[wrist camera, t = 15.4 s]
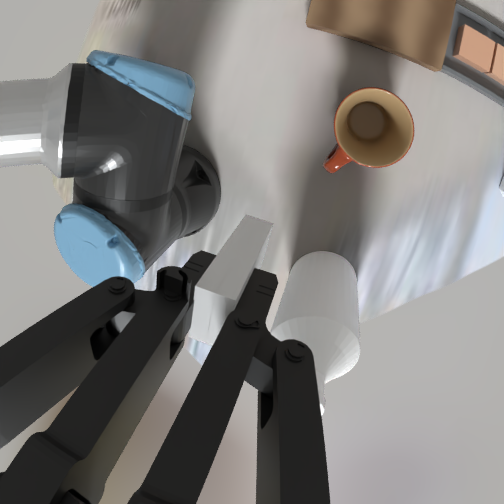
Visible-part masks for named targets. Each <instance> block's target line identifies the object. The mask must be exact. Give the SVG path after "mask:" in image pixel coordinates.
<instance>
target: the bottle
mask: <svg viewBox="0 0 504 504" xmlns="http://www.w3.org/2000/svg"><path fill="white" fill-rule="evenodd" d="M270 333H271V335H273V336H274V337H275V338H277V339H278V340H280V341H284V340H287V339H295V340H298V341H301V342H303V343H304V344H306V345H307V346H308V347H309V348H310V349H311V351H312V353H313V356H314V363H315V371H316V378H317V385H318V393H319V401H320V409H321V416H322V414H323V413H324V409H325V398H324V385H325V383H327V382H328V381H330V380H332V379H335V378H337V377H339V376H342V375H343V374H345V373H347V372H349V371H350V370H351V369H352V368H353V367H354V366H355V364H356V363H357V361H358V359H359V356H360V327H359V306H358V290H357V278H356V273H355V271H354V268H353V267H352V265H351V264H350V263H349V262H348V261H347V260H346V259H345V258H344V257H342V256H340V255H338V254H335V253H333V252H327V251H316V252H311V253H309V254H306V255H304V256H303V257H301V258H300V259H298V260H297V261H296V262H295V264H294V265H293V267H292V269H291V271H290V274H289V277H288V281H287V284H286V287H285V290H284V293H283V296H282V299H281V302H280V305H279V308H278V311H277V314H276V317H275V320H274V323H273V326H272V329H271V332H270Z"/></svg>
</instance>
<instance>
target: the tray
mask: <svg viewBox="0 0 504 504" xmlns="http://www.w3.org/2000/svg"><path fill="white" fill-rule="evenodd" d="M464 24H466V25H467V26H469V27H471V28H473V29H474V30H476V31H478V32H480V33H481V34H483V35H485V36H486V37H488V38H489V39H491V40H493V41H494V42H495V44H496V43H498V44H500V45H501V46H503V47H504V31H503V30H502V29H500V28H498V27H497V26H495V25H494V24H492V23H491V22H489V21H487V20H486V19H484V18H482V17H481V16H479V15H477V14H476V13H474V12H472V11H470V10H469V9H467V8H465V7H463V6H461V5H459V4H457V3H456V5H455V10H454V16H453V21H452V26H451V31H450V36H449V40H448V45H447V49H446V53H445V57H444V61H443V65H442V69H441V72H443V73H445V74H447V75H449V76H451V77H453V78H455V79H457V80H459V81H461V82H463V83H464V84H466V85H468V86H470V87H472V88H473V89H475V90H477V91H478V92H480V93H482V94H484V95H485V96H487V97H488V98H490V99H492V100H493V101H495V102H496V103H498V104H500V105H501V106H503V107H504V86H503V85H502V84H500V83H499V82H497V81H496V80H494V79H493V78H491V77H489V76H488V75H486V74H484V73H485V72H483V73H482V72H480V71H478V70H477V69H475V68H473V67H471V66H470V65H468V64H466V63H464V62H462V61H461V60H459V59H457V58H455V57H453V51H454V47H455V43H456V38H457V33H458V28H459V27H460V26H462V25H464Z"/></svg>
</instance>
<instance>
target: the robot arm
mask: <svg viewBox="0 0 504 504" xmlns="http://www.w3.org/2000/svg"><path fill="white" fill-rule="evenodd" d="M86 62H88V63H86V64H81V63H69V64H68V65H67V66H66V67H65V68H63V69H62V70H61V71H60V72H59V73H58V74H57V75H55V76H53V77H52V78H48V79H27V80H13V81H3V82H0V167H7V166H19V165H31V164H43V165H45V166H46V167H47V168H48V169H49V170H50V171H51V172H52V173H53V174H54V175H55V176H56V177H57V178H71V177H74V187H73V202H72V204H68V205H66V206H64V207H63V209H62V211H61V212H60V213H59V214H58V215H57V217H56V219H55V224H54V235H55V240H56V243H57V246H58V249H59V251H60V253H61V255H62V257H63V258H64V260H65V261H66V263H67V264H68V265H69V266H70V268H71V269H72V270H73V272H74V273H75V274H76V275H77V276H78V277H80V278H81V279H82V280H83V281H84V282H86V283H87V284H89V285H90V286H92V287H93V288H91V289H89V290H88V291H86V292H85V293H83V294H81V295H80V296H78V297H77V298H75V299H73V300H72V301H70V302H68V303H67V304H65V305H64V306H62V307H61V308H59V309H57V310H56V311H54V312H53V313H51V314H49V315H48V316H47V317H45V318H43V319H42V320H40V321H39V322H37V323H36V324H34V325H33V326H31V327H29V328H28V329H27V330H25V331H23V332H22V333H20V334H19V335H17V336H16V337H14V338H13V339H11V340H10V341H8V342H7V343H6V344H4V345H3V346H1V347H0V448H2V447H3V446H5V445H6V444H7V443H9V442H10V441H11V440H12V439H14V438H15V437H16V436H17V435H18V434H20V433H21V432H22V431H24V429H26V428H27V427H28V426H30V425H31V424H32V423H33V422H35V421H36V420H37V419H38V418H39V417H41V416H42V415H43V414H44V413H45V412H47V411H48V410H49V409H50V408H52V407H53V406H54V405H55V404H57V403H58V402H59V401H60V400H62V399H63V398H64V397H65V396H67V395H68V394H69V393H70V392H71V391H73V390H74V389H75V388H76V387H78V386H79V385H80V386H79V387H78V388H77V390H76V391H75V392H74V394H73V395H72V396H71V398H70V399H69V401H68V402H67V403H66V405H65V406H64V407H63V409H62V410H61V411H60V413H59V414H58V415H57V417H56V418H55V420H54V421H53V422H52V424H51V425H50V427H49V428H48V429H47V430H46V431H44V432H37V433H35V434H33V435H31V436H30V437H29V439H28V440H27V441H26V442H25V444H24V445H23V447H22V448H21V449H20V451H19V452H18V454H17V455H16V457H15V458H14V460H13V461H12V463H11V464H10V466H9V467H8V468H7V470H6V471H5V472H1V473H0V504H98V503H99V501H100V499H101V498H102V495H103V492H104V487H105V483H106V480H107V478H108V476H109V475H110V473H111V471H112V469H113V468H114V466H115V464H116V462H117V460H118V459H119V457H120V455H121V453H122V452H123V450H124V448H125V446H126V445H127V443H128V441H129V439H130V438H131V436H132V434H133V432H134V430H135V429H136V427H137V425H138V424H139V422H140V420H141V418H142V417H143V415H144V413H145V411H146V410H147V408H148V406H149V404H150V403H151V401H152V399H153V397H154V396H155V394H156V392H157V391H158V389H159V387H160V385H161V384H162V382H163V380H164V379H165V377H166V375H167V373H168V372H169V370H170V368H171V366H172V365H173V363H174V361H175V360H176V358H177V356H178V354H179V353H180V351H181V349H182V348H183V345H184V341H185V336H186V334H187V333H188V331H189V337H190V338H192V339H195V340H198V341H200V342H203V343H205V344H208V345H211V346H212V348H211V350H210V352H209V354H208V356H207V358H206V360H205V362H204V364H203V366H202V368H201V370H200V372H199V374H198V376H197V378H196V380H195V382H194V384H193V386H192V388H191V390H190V392H189V393H188V395H187V397H186V400H185V401H184V403H183V405H182V407H181V409H180V411H179V413H178V415H177V417H176V419H175V421H174V423H173V425H172V427H171V429H170V431H169V433H168V435H167V437H166V439H165V441H164V443H163V445H162V447H161V449H160V450H159V452H158V455H157V456H156V458H155V460H154V462H153V464H152V466H151V468H150V470H149V472H148V474H147V476H146V478H145V480H144V482H143V483H142V485H141V487H140V488H139V489H138V490H137V491H136V492H135V493H134V494H133V496H132V497H131V498H130V500H129V502H128V504H196V502H197V500H198V497H199V495H200V493H201V490H202V488H203V485H204V483H205V480H206V478H207V475H208V473H209V470H210V468H211V466H212V463H213V461H214V458H215V456H216V453H217V450H218V448H219V445H220V443H221V440H222V438H223V435H224V433H225V430H226V427H227V425H228V422H229V419H230V417H231V414H232V412H233V409H234V406H235V404H236V401H237V398H238V396H239V393H240V390H241V387H242V385H243V382H244V380H245V381H246V382H247V383H249V384H250V385H252V386H253V387H255V388H256V389H258V424H257V480H256V504H330V494H329V483H328V472H327V462H326V453H325V443H324V434H323V426H322V417H321V409H320V401H319V393H318V385H317V378H316V371H315V363H314V356H313V353H312V351H311V349H310V348H309V347H308V346H307V345H306V344H304V343H303V342H301V341H298V340H295V339H287V340H284V341H280V340H278V339H277V338H275V337H274V336H273V335H271V333H270V332H269V331H268V329H267V327H266V323H265V322H266V317H267V315H268V312H269V309H270V306H271V303H272V300H273V297H274V294H275V291H276V288H277V285H278V280H277V277H276V275H275V274H272V273H269V272H266V271H263V270H260V268H261V265H262V262H263V259H264V255H265V252H266V248H267V245H268V241H269V238H270V234H271V231H272V227H273V224H274V223H271V222H268V221H265V220H261V219H258V218H255V217H252V216H249V215H245V217H244V218H243V219H242V221H241V222H240V224H239V225H238V226H237V228H236V229H235V231H234V232H233V233H232V235H231V236H230V238H229V239H228V240H227V242H226V243H225V245H224V246H223V247H222V249H221V250H220V252H219V253H218V254H217V256H216V255H214V254H211V253H208V252H205V251H199V252H197V253H195V254H193V255H192V256H191V258H190V259H189V260H188V262H186V264H185V265H184V267H182V268H180V267H175V266H167V267H164V268H161V269H160V270H158V271H157V285H156V290H155V291H144V290H137V289H135V287H134V283H135V282H136V281H137V280H139V279H141V278H142V277H143V275H144V273H145V272H146V271H147V270H148V269H149V268H150V266H151V265H152V264H153V263H154V262H155V261H156V260H157V259H158V258H159V257H160V256H161V255H162V254H163V253H164V252H165V251H166V250H167V249H168V248H169V247H170V246H171V245H172V244H173V243H174V241H175V240H177V239H179V238H183V237H186V236H190V235H193V234H195V233H197V232H199V231H200V230H202V229H203V228H204V227H205V226H206V225H207V224H208V223H209V222H210V221H211V220H212V219H213V217H214V216H215V214H216V212H217V210H218V207H219V204H220V197H221V191H220V184H219V180H218V177H217V174H216V172H215V170H214V168H213V167H212V165H211V164H210V163H209V161H208V160H207V159H206V158H205V157H204V156H203V155H202V154H200V153H199V152H198V151H196V150H194V149H192V148H190V147H187V146H184V145H183V143H184V139H185V135H186V131H187V127H188V123H189V120H191V114H190V113H191V107H192V103H193V98H194V93H195V83H194V80H193V78H192V77H191V76H190V75H189V74H187V73H186V72H183V71H181V70H178V69H175V68H171V67H168V66H165V65H161V64H157V63H154V62H150V61H146V60H142V59H138V58H134V57H130V56H125V55H121V54H115V53H110V52H105V51H100V50H94V51H92V52H91V53H90V55H89V56H88V57H87V61H86ZM189 329H190V330H189Z"/></svg>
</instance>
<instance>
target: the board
mask: <svg viewBox="0 0 504 504" xmlns="http://www.w3.org/2000/svg"><path fill="white" fill-rule="evenodd" d="M455 5H456V0H311V4H310V8H309V12H308V16H307V19H306V25H307V27H309V28H313V29H317V30H321V31H325V32H328V33H332V34H336V35H339V36H343V37H346V38H349V39H352V40H356V41H359V42H362V43H365V44H368V45H371V46H374V47H376V48H379V49H382V50H385V51H387V52H390V53H392V54H395V55H398V56H400V57H402V58H405V59H407V60H410V61H412V62H414V63H417V64H419V65H421V66H423V67H426V68H428V69H430V70H432V71H434V72H436V71H441V69H442V65H443V61H444V57H445V53H446V49H447V45H448V40H449V36H450V31H451V26H452V21H453V16H454V10H455Z"/></svg>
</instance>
